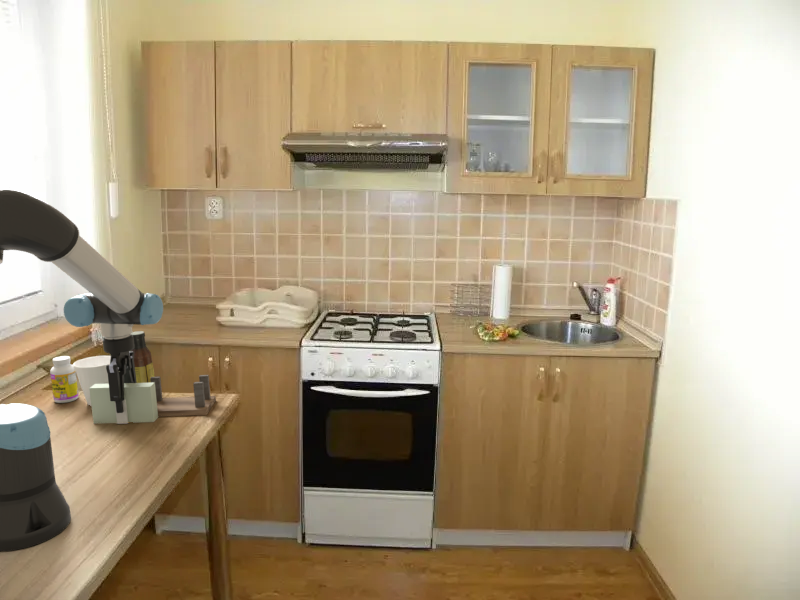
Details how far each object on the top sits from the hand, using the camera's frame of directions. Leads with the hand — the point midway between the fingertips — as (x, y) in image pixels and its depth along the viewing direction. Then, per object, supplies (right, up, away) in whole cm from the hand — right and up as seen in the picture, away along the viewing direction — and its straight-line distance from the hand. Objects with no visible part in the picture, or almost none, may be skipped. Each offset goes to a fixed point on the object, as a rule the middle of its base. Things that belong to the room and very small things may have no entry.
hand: (127, 418), depth 177 cm
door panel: (0, 0, 0) cm, 1 cm away
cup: (-14, +2, +14) cm, 20 cm away
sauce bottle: (-2, +3, +18) cm, 18 cm away
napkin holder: (+12, +1, +7) cm, 14 cm away
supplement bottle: (-25, +2, +17) cm, 30 cm away
